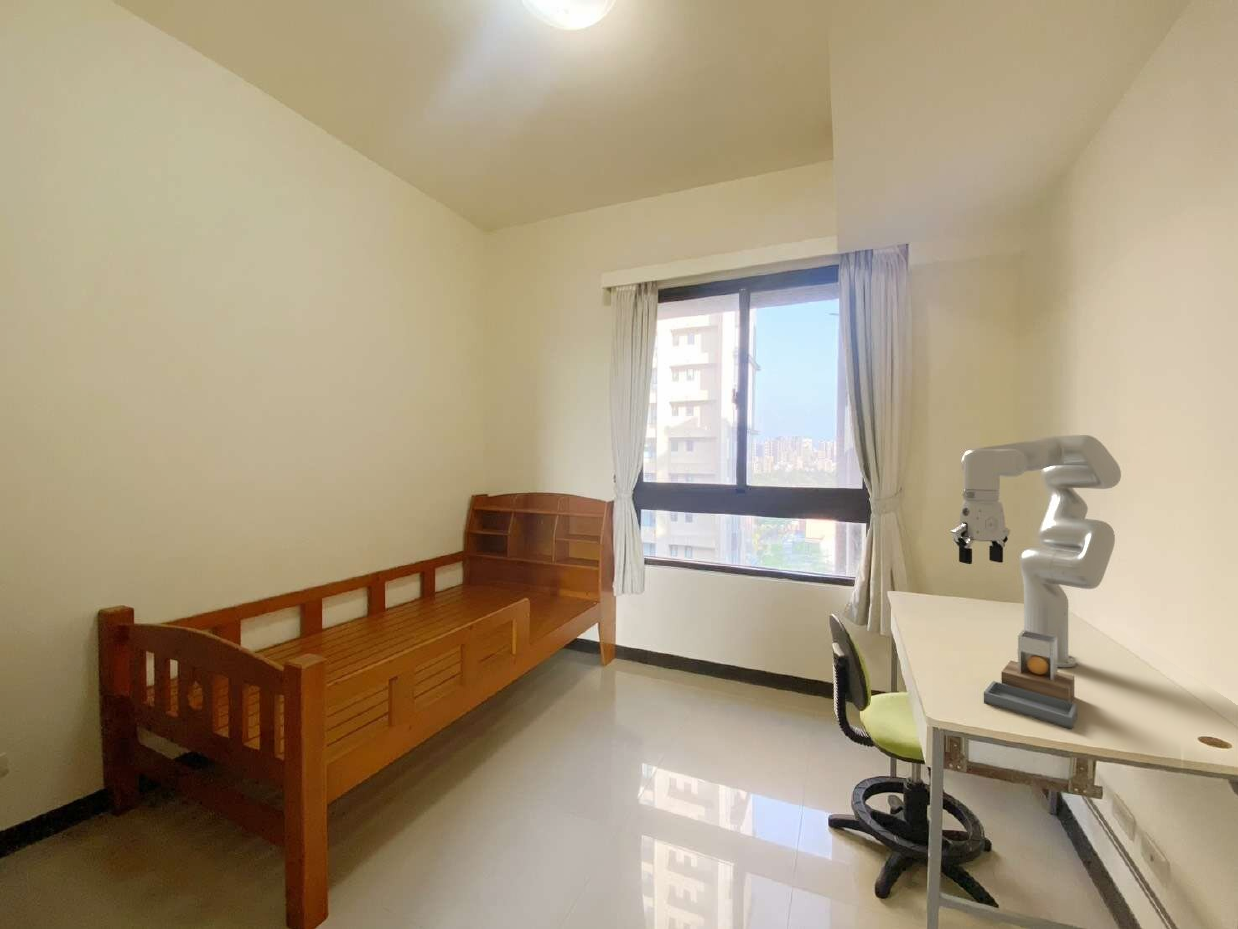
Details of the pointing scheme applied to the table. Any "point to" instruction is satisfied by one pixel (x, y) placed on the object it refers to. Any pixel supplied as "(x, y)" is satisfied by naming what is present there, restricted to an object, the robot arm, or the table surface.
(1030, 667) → the ball
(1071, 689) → the stand
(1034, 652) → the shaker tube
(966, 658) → the table surface
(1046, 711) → the tray
